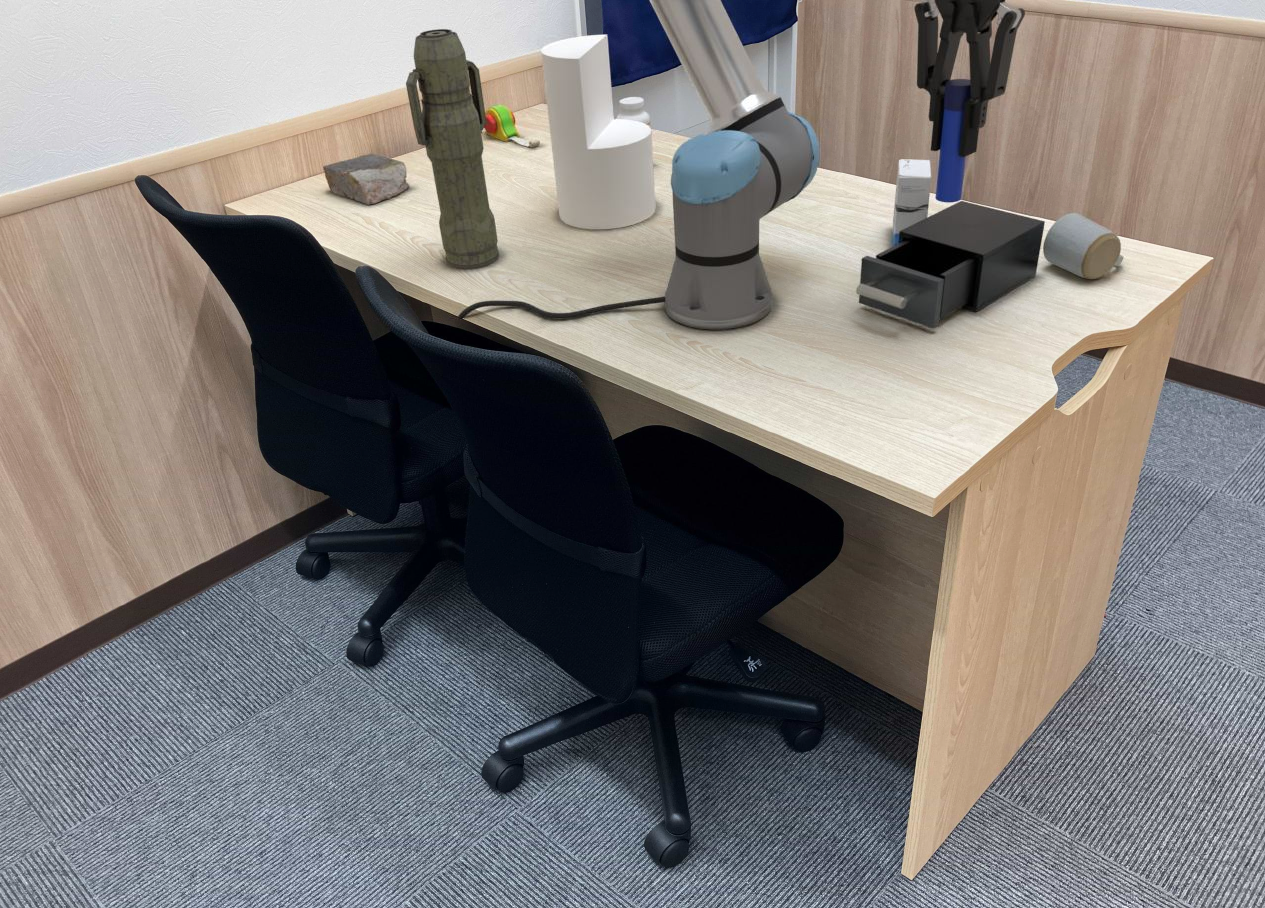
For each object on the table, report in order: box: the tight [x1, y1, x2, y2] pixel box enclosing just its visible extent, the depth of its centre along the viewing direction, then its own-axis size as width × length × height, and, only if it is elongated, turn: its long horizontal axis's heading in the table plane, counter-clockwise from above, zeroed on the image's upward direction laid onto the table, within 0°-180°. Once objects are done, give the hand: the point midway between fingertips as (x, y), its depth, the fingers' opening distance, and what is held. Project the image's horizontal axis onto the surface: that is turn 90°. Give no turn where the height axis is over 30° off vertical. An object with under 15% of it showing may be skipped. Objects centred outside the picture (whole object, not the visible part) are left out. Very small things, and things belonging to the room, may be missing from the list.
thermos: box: [405, 28, 500, 270], centre depth 154 cm, size 9×12×35 cm
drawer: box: [856, 239, 979, 330], centre depth 136 cm, size 19×12×7 cm, turn 132°
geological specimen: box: [322, 153, 410, 206], centre depth 195 cm, size 11×6×15 cm
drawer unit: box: [898, 200, 1046, 313], centre depth 142 cm, size 15×13×8 cm
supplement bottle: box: [615, 96, 651, 128], centre depth 194 cm, size 7×7×13 cm
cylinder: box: [540, 34, 657, 231], centre depth 170 cm, size 17×17×28 cm
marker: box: [934, 78, 971, 204], centre depth 125 cm, size 3×3×14 cm
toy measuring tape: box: [484, 104, 541, 148], centre depth 217 cm, size 6×20×7 cm, turn 40°
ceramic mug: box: [1042, 212, 1125, 280], centre depth 143 cm, size 11×8×8 cm
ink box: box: [891, 158, 932, 247], centre depth 155 cm, size 8×5×12 cm, turn 168°
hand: (953, 150), depth 125 cm, fingers closed on marker, 3 cm apart
